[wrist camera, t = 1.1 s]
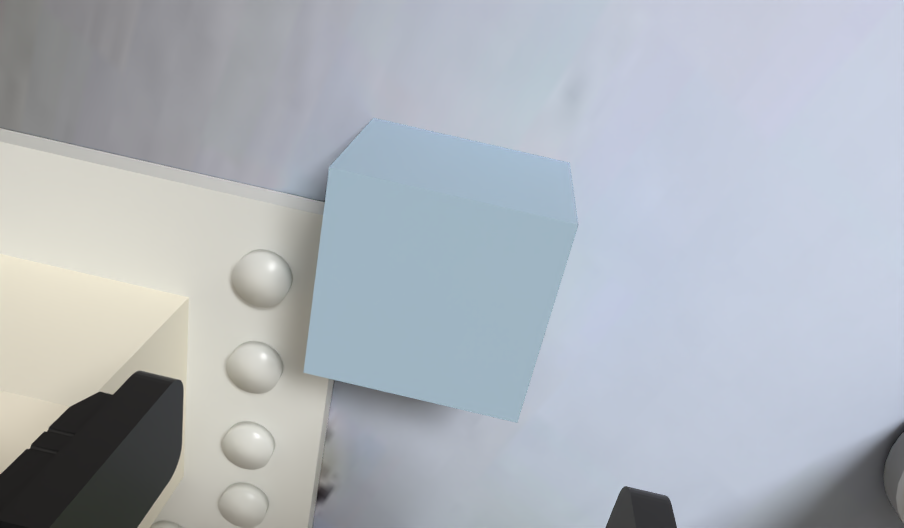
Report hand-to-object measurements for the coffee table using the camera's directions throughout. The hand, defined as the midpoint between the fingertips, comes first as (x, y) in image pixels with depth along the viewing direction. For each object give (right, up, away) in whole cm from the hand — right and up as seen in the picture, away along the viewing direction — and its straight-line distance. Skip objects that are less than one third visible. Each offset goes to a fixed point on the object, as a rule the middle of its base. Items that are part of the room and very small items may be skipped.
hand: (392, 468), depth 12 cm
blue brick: (+1, +5, +10) cm, 11 cm away
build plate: (-10, -1, +14) cm, 17 cm away
